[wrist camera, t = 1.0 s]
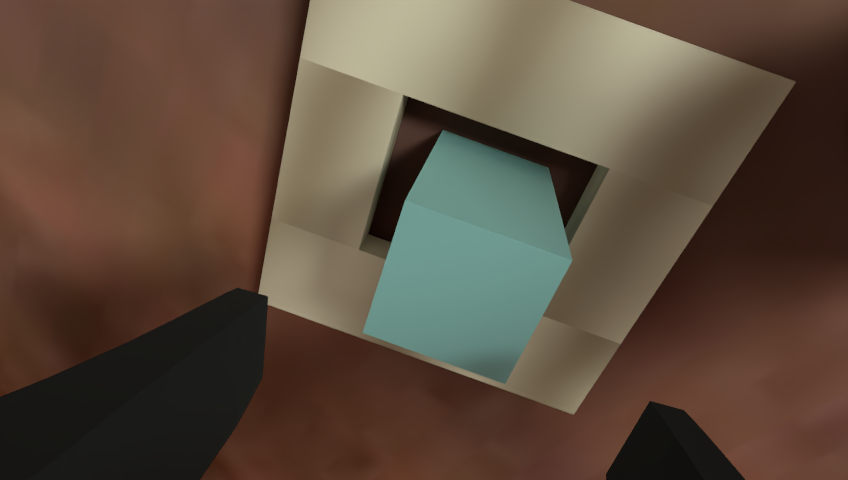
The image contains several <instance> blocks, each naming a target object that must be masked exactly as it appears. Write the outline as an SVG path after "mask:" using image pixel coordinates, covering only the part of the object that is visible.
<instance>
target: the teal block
mask: <svg viewBox="0 0 848 480" xmlns="http://www.w3.org/2000/svg"><path fill="white" fill-rule="evenodd" d="M571 262H572V257H571V253H570V249H569V245H568V241H567V237H566V233H565V229H564V225H563V222H562V218H561V214H560V210H559V206H558V202H557V198H556V194H555V190H554V186H553V182H552V179H551V175H550V171H549V168H548V167H545V166H543V165H540V164H537V163H534V162H531V161H529V160H526V159H523V158H520V157H518V156H515V155H512V154H509V153H506V152H504V151H501V150H498V149H495V148H492V147H490V146H487V145H484V144H481V143H479V142H476V141H473V140H470V139H467V138H465V137H462V136H459V135H456V134H453V133H451V132H448V131H445V130H443V131H442V132H441V134H440V136H439V138H438V140H437V142H436V144H435V145H434V147H433V149H432V151H431V153H430V155H429V157H428V159H427V160H426V162H425V164H424V166H423V168H422V170H421V172H420V173H419V175H418V177H417V179H416V181H415V183H414V185H413V186H412V188H411V190H410V192H409V194H408V196H407V198H406V200H405V202H404V205H403V208H402V211H401V214H400V218H399V221H398V224H397V227H396V230H395V233H394V236H393V239H392V242H391V246H390V249H389V252H388V255H387V258H386V261H385V264H384V267H383V270H382V274H381V277H380V280H379V283H378V286H377V289H376V292H375V295H374V298H373V302H372V305H371V308H370V311H369V314H368V317H367V320H366V323H365V326H364V330H363V333H364V334H367V335H370V336H373V337H375V338H378V339H381V340H384V341H386V342H389V343H392V344H395V345H398V346H400V347H403V348H406V349H409V350H411V351H414V352H417V353H420V354H423V355H425V356H428V357H431V358H434V359H436V360H439V361H442V362H445V363H448V364H450V365H453V366H456V367H459V368H461V369H464V370H467V371H470V372H473V373H475V374H478V375H481V376H484V377H486V378H489V379H492V380H495V381H498V382H500V383H503V384H506V382H507V380H508V378H509V376H510V374H511V373H512V371H513V369H514V367H515V365H516V363H517V362H518V360H519V358H520V356H521V354H522V352H523V351H524V349H525V347H526V345H527V343H528V341H529V339H530V338H531V336H532V334H533V332H534V330H535V328H536V327H537V325H538V323H539V321H540V319H541V317H542V316H543V314H544V312H545V310H546V308H547V306H548V305H549V303H550V301H551V299H552V297H553V295H554V294H555V292H556V290H557V288H558V286H559V284H560V283H561V281H562V279H563V277H564V275H565V273H566V272H567V270H568V268H569V266H570V264H571Z"/></svg>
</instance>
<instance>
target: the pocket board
mask: <svg viewBox="0 0 848 480" xmlns="http://www.w3.org/2000/svg"><path fill="white" fill-rule="evenodd" d="M795 83H796V81H793V80H790V79H787V78H784V77H782V76H779V75H776V74H773V73H770V72H768V71H765V70H762V69H759V68H757V67H754V66H751V65H748V64H745V63H743V62H740V61H737V60H734V59H731V58H729V57H726V56H723V55H720V54H717V53H715V52H712V51H709V50H706V49H704V48H701V47H698V46H695V45H692V44H690V43H687V42H684V41H681V40H678V39H676V38H673V37H670V36H667V35H664V34H662V33H659V32H656V31H653V30H650V29H648V28H645V27H642V26H639V25H637V24H634V23H631V22H628V21H625V20H623V19H620V18H617V17H614V16H611V15H609V14H606V13H603V12H600V11H597V10H595V9H592V8H589V7H586V6H583V5H581V4H578V3H575V2H572V1H570V0H310V4H309V9H308V15H307V21H306V26H305V32H304V38H303V43H302V49H301V55H300V60H299V66H298V72H297V77H296V83H295V89H294V94H293V100H292V106H291V111H290V117H289V123H288V128H287V134H286V140H285V145H284V151H283V157H282V162H281V168H280V174H279V179H278V185H277V191H276V196H275V202H274V208H273V213H272V219H271V225H270V230H269V236H268V242H267V247H266V253H265V259H264V264H263V270H262V276H261V281H260V287H259V293H258V294H262V295H265V296H268V305H270V306H273V307H276V308H279V309H281V310H284V311H287V312H290V313H293V314H295V315H298V316H301V317H304V318H306V319H309V320H312V321H315V322H318V323H320V324H323V325H326V326H329V327H331V328H334V329H337V330H340V331H343V332H345V333H348V334H351V335H354V336H356V337H359V338H362V339H365V340H368V341H370V342H373V343H376V344H379V345H381V346H384V347H387V348H390V349H393V350H395V351H398V352H401V353H404V354H406V355H409V356H412V357H415V358H418V359H420V360H423V361H426V362H429V363H431V364H434V365H437V366H440V367H443V368H445V369H448V370H451V371H454V372H456V373H459V374H462V375H465V376H468V377H470V378H473V379H476V380H479V381H481V382H484V383H487V384H490V385H493V386H495V387H498V388H501V389H504V390H506V391H509V392H512V393H515V394H518V395H520V396H523V397H526V398H529V399H531V400H534V401H537V402H540V403H543V404H545V405H548V406H551V407H554V408H556V409H559V410H562V411H565V412H568V413H570V414H573V415H574V413H575V412H576V410H577V409H578V407H579V406H580V404H581V403H582V401H583V400H584V398H585V397H586V395H587V394H588V392H589V391H590V389H591V388H592V386H593V385H594V383H595V382H596V380H597V379H598V377H599V376H600V374H601V373H602V371H603V370H604V368H605V367H606V365H607V364H608V362H609V361H610V359H611V358H612V356H613V355H614V353H615V352H616V350H617V349H618V347H619V346H620V344H621V343H622V341H623V340H624V338H625V337H626V335H627V334H628V332H629V331H630V329H631V328H632V326H633V325H634V323H635V322H636V320H637V319H638V317H639V316H640V314H641V313H642V311H643V310H644V308H645V307H646V305H647V304H648V302H649V301H650V300H651V298H652V297H653V295H654V294H655V292H656V291H657V289H658V288H659V286H660V285H661V283H662V282H663V280H664V279H665V277H666V276H667V274H668V273H669V271H670V270H671V268H672V267H673V265H674V264H675V262H676V261H677V259H678V258H679V256H680V255H681V253H682V252H683V250H684V249H685V247H686V246H687V244H688V243H689V241H690V240H691V238H692V237H693V235H694V234H695V232H696V231H697V229H698V228H699V226H700V225H701V223H702V222H703V220H704V219H705V217H706V216H707V214H708V213H709V211H710V210H711V208H712V207H713V205H714V204H715V202H716V201H717V199H718V198H719V196H720V195H721V193H722V192H723V190H724V189H725V187H726V186H727V184H728V183H729V181H730V180H731V178H732V177H733V175H734V174H735V172H736V171H737V169H738V168H739V166H740V165H741V163H742V162H743V160H744V159H745V157H746V156H747V154H748V153H749V151H750V150H751V148H752V147H753V145H754V144H755V142H756V141H757V139H758V138H759V136H760V135H761V133H762V132H763V130H764V129H765V128H766V126H767V125H768V123H769V122H770V120H771V119H772V117H773V116H774V114H775V113H776V111H777V110H778V108H779V107H780V105H781V104H782V102H783V101H784V99H785V98H786V96H787V95H788V93H789V92H790V90H791V89H792V87H793V86H794V84H795ZM408 97H411V98H414V99H417V100H420V101H422V102H425V103H428V104H431V105H433V106H436V107H439V108H442V109H445V110H447V111H450V112H453V113H456V114H459V115H461V116H464V117H467V118H470V119H472V120H475V121H478V122H481V123H484V124H486V125H489V126H492V127H495V128H498V129H500V130H503V131H506V132H509V133H511V134H514V135H517V136H520V137H523V138H525V139H528V140H531V141H534V142H537V143H539V144H542V145H545V146H548V147H550V148H553V149H556V150H559V151H562V152H564V153H567V154H570V155H573V156H576V157H578V158H581V159H584V160H587V161H589V162H592V163H595V164H598V165H597V167H596V169H595V171H594V173H593V175H592V177H591V179H590V181H589V183H588V185H587V187H586V189H585V190H584V192H583V194H582V196H581V198H580V200H579V202H578V204H577V206H576V208H575V210H574V212H573V214H572V216H571V218H570V220H569V221H568V223H567V225H566V227H565V233H566V237H567V241H568V245H569V249H570V253H571V257H572V262H571V264H570V266H569V268H568V270H567V272H566V273H565V275H564V277H563V279H562V281H561V283H560V284H559V286H558V288H557V290H556V292H555V294H554V295H553V297H552V299H551V301H550V303H549V305H548V306H547V308H546V310H545V312H544V314H543V316H542V317H541V319H540V321H539V323H538V325H537V327H536V328H535V330H534V332H533V334H532V336H531V338H530V339H529V341H528V343H527V345H526V347H525V349H524V351H523V352H522V354H521V356H520V358H519V360H518V362H517V363H516V365H515V367H514V369H513V371H512V373H511V374H510V376H509V378H508V380H507V382H506V384H503V383H500V382H498V381H495V380H492V379H489V378H486V377H484V376H481V375H478V374H475V373H473V372H470V371H467V370H464V369H461V368H459V367H456V366H453V365H450V364H448V363H445V362H442V361H439V360H436V359H434V358H431V357H428V356H425V355H423V354H420V353H417V352H414V351H411V350H409V349H406V348H403V347H400V346H398V345H395V344H392V343H389V342H386V341H384V340H381V339H378V338H375V337H373V336H370V335H367V334H364V333H363V330H364V326H365V323H366V320H367V317H368V314H369V311H370V308H371V305H372V302H373V298H374V295H375V292H376V289H377V286H378V283H379V280H380V277H381V274H382V270H383V267H384V264H385V261H386V258H387V255H388V252H389V249H390V246H391V242H389V241H386V240H383V239H380V238H378V237H375V236H372V235H369V231H370V227H371V224H372V220H373V217H374V214H375V210H376V207H377V203H378V200H379V196H380V193H381V190H382V186H383V183H384V179H385V176H386V172H387V169H388V166H389V162H390V159H391V155H392V152H393V148H394V145H395V142H396V138H397V135H398V131H399V128H400V124H401V121H402V118H403V114H404V111H405V107H406V104H407V100H408Z"/></svg>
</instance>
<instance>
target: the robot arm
mask: <svg viewBox="0 0 848 480" xmlns="http://www.w3.org/2000/svg"><path fill="white" fill-rule="evenodd" d="M267 306H268V296H265V295H262V294H258V293H255V292H251V291H247V290H244V289H240V288H236V289H234V290H232V291H229V292H227V293H225V294H223V295H221V296H219V297H217V298H215V299H213V300H211V301H209V302H207V303H205V304H203V305H201V306H200V307H198V308H196V309H194V310H192V311H190V312H188V313H186V314H184V315H182V316H180V317H178V318H176V319H174V320H172V321H170V322H168V323H166V324H164V325H162V326H160V327H158V328H156V329H154V330H152V331H150V332H148V333H146V334H143V335H141V336H139V337H137V338H135V339H133V340H131V341H129V342H127V343H125V344H123V345H121V346H118V347H116V348H114V349H112V350H110V351H107V352H105V353H103V354H101V355H98V356H96V357H94V358H92V359H89V360H87V361H85V362H83V363H80V364H78V365H76V366H74V367H71V368H69V369H67V370H65V371H62V372H60V373H58V374H56V375H53V376H51V377H49V378H46V379H44V380H41V381H39V382H37V383H34V384H32V385H29V386H27V387H24V388H22V389H19V390H16V391H14V392H11V393H9V394H6V395H4V396H1V397H0V480H200V478H201V477H202V476H203V474H204V473H205V471H206V470H207V468H208V467H209V465H210V464H211V463H212V461H213V460H214V458H215V457H216V455H217V454H218V452H219V451H220V449H221V448H222V447H223V445H224V444H225V442H226V441H227V439H228V438H229V436H230V435H231V433H232V432H233V430H234V429H235V427H236V426H237V424H238V422H239V421H240V419H241V417H242V415H243V413H244V411H245V410H246V408H247V406H248V404H249V402H250V400H251V398H252V396H253V395H254V393H255V391H256V389H257V387H258V385H259V383H260V381H261V379H262V377H263V363H264V349H265V335H266V320H267ZM606 480H745V479H744V478H743V476H742V475H741V474H740V473H739V472H738V471H737V469H736V468H735V467H734V466H733V465H732V464H731V462H730V461H729V460H728V459H727V458H726V457H725V455H724V454H723V453H722V452H721V451H720V450H719V448H718V447H717V446H716V445H715V444H714V443H713V442H712V440H711V439H710V438H709V437H708V436H707V435H706V434H705V432H704V431H703V430H702V429H701V428H700V427H699V426H698V425H697V424H696V423H695V421H694V420H693V419H692V418H691V417H690V416H689V415H688V414H687V413H686V412H685V411H684V410H681V409H677V408H674V407H670V406H666V405H663V404H659V403H655V402H652V401H650V402H649V404H648V405H647V407H646V409H645V410H644V412H643V414H642V415H641V417H640V419H639V420H638V422H637V424H636V425H635V427H634V429H633V430H632V432H631V434H630V435H629V437H628V439H627V440H626V442H625V444H624V445H623V447H622V449H621V450H620V452H619V454H618V455H617V457H616V459H615V460H614V462H613V464H612V465H611V467H610V469H609V470H608V472H607V474H606Z"/></svg>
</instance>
